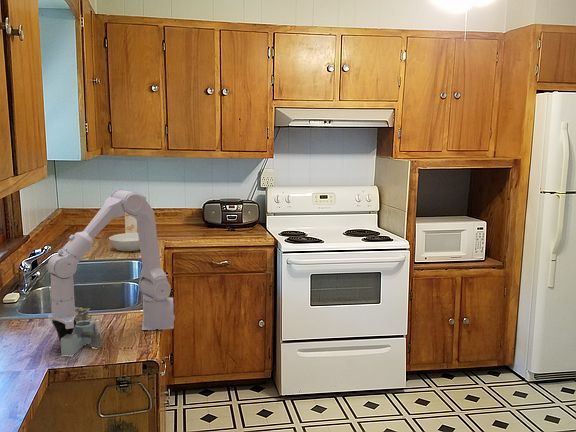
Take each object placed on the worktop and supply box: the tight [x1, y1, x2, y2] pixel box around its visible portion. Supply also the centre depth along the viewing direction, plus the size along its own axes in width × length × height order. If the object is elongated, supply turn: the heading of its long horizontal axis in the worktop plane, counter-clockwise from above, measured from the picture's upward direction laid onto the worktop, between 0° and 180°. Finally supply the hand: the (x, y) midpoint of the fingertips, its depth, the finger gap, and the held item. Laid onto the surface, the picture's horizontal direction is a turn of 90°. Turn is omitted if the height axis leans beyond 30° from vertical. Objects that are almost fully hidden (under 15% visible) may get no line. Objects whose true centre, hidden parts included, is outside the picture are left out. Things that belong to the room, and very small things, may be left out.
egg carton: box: [50, 306, 91, 322], centre depth 172 cm, size 11×8×4 cm
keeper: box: [81, 332, 101, 348], centre depth 150 cm, size 2×5×4 cm, turn 78°
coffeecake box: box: [124, 212, 138, 233], centre depth 297 cm, size 15×7×20 cm, turn 179°
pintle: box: [93, 318, 102, 341], centre depth 155 cm, size 2×2×6 cm
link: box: [60, 320, 94, 355], centre depth 150 cm, size 13×5×5 cm, turn 176°
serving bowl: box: [108, 233, 140, 252], centre depth 272 cm, size 21×21×7 cm
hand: (65, 345), depth 149 cm, fingers closed
